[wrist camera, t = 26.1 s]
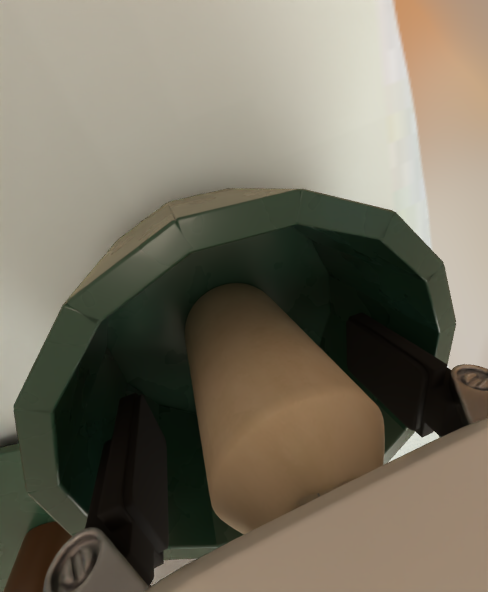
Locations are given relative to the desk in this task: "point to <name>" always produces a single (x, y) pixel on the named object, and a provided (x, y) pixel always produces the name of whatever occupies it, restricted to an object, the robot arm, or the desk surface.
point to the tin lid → (24, 530)
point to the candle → (272, 409)
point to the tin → (171, 332)
